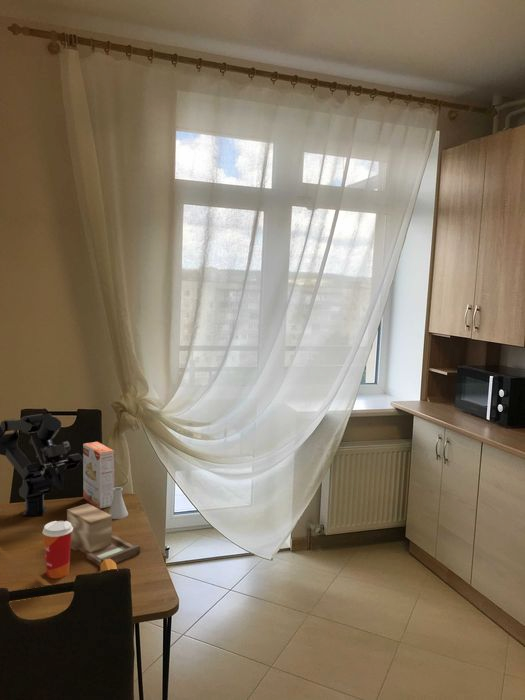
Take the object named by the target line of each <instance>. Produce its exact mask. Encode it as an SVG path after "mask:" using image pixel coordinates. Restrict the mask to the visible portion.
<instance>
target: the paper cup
mask: <svg viewBox="0 0 525 700" xmlns="http://www.w3.org/2000/svg"><path fill="white" fill-rule="evenodd" d="M72 531H73V527H72V525H71V523H70V522H68V521H67V520H65V521H64V520H58V521H57V520H54V521H53V520H52V521H50V522H48V523H46V524H45V525H44V526H43V530H42V531H41V532H42V533H41V534H42V535H43V542H44V544H43V545H44V557H45V558H44V559H45V570H46V571H45V572H46V576H47V577H48V578H50V579H61V578H63V577H65V576H67V575H69V573H70V566H71V564H70V563H71V550H72V549H71V535H72Z"/></svg>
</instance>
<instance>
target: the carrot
mask: <svg viewBox="0 0 525 700" xmlns="http://www.w3.org/2000/svg"><path fill="white" fill-rule="evenodd" d="M99 567H100V571H103V570H110V569H117V570H118V566H117V563H115V562H114V561H113V560H111V559H105V560H104V561H103V562H102V563H101V566H99Z"/></svg>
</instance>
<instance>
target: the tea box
mask: <svg viewBox="0 0 525 700" xmlns="http://www.w3.org/2000/svg"><path fill="white" fill-rule="evenodd" d="M108 513H109V512H108ZM108 513H107V512H106V511H103V510H102V509H101V508H100V509H99V508H98V507H94V506H93V505H92V504H91V503H85V504H84V503H83V504H81V505H78V506H74V507H71V508H68V509H66V516H67V517H66V521H68V522H70V523H71V525H72V527H73V531H72V535H71V541H72V542H74V543H76V544H77V545H79V546H81V547H82V548H84V549H86V550H87V551H89V552H93V551H96V550H99V549H102V548H104V547H107V546H110V545H112V534H113V533H112V529H113V528H112V527H113V526H112V523H113V519H112V515H110V514H108Z"/></svg>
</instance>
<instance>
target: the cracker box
mask: <svg viewBox="0 0 525 700" xmlns="http://www.w3.org/2000/svg"><path fill="white" fill-rule="evenodd" d="M82 446H83V447H82V452H83V453H82V456H83V457H82V465H83V466H82V467H83V468H82V470H83V471H82V474H83V475H82V478H83V480H82V481H83V482H82V483H83V486H82V487H83V488H82V490H83V491H82V493H83V496H82V498H83V499H84V500H85V501H87V503H88V504H90V505H92V506H94V507H96V508H98V509H100V510H101V509H105V508H108V507H109V508H110V507H111V504H112V501H113V496H114V491H113V488H115V450H113V449H111V448H110V447H107V446H106V445H104V444H103V443H101V442H99V441H94V442H86V443H83V445H82Z"/></svg>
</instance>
